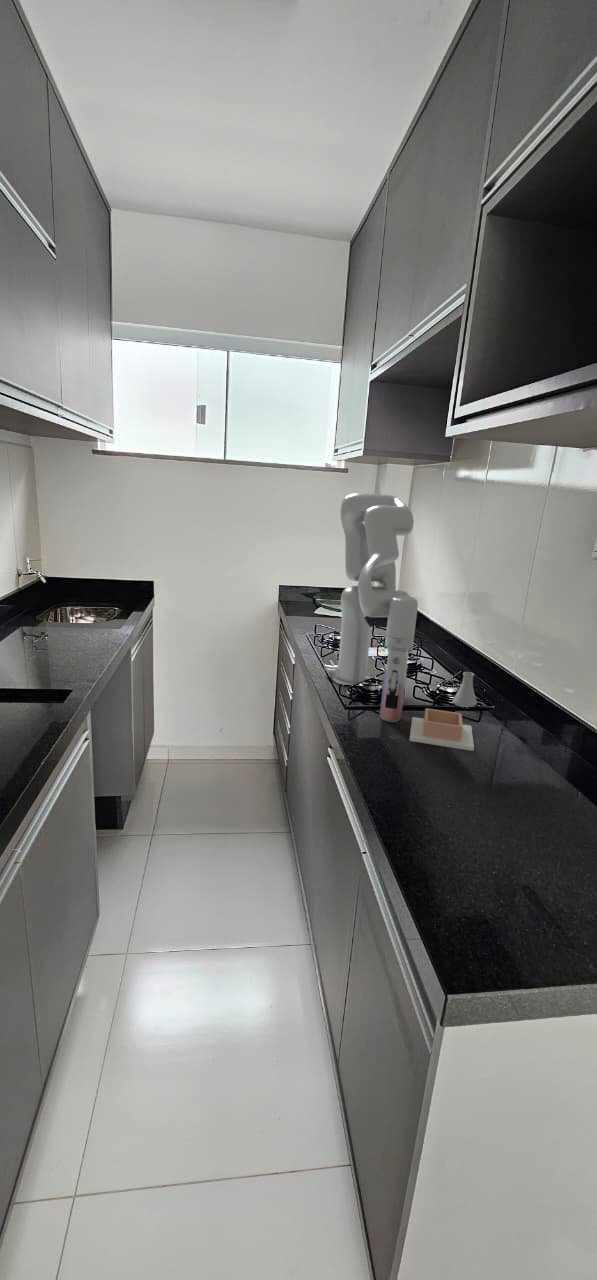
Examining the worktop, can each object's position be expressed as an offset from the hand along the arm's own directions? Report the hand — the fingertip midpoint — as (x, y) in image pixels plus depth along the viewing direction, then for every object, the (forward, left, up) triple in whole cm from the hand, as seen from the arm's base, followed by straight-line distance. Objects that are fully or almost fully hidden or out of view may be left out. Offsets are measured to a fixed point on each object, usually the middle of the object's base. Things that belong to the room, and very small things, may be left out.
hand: (391, 703), depth 162 cm
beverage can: (0, 0, -5) cm, 5 cm away
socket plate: (+14, -6, -5) cm, 16 cm away
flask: (+21, +20, -5) cm, 29 cm away
